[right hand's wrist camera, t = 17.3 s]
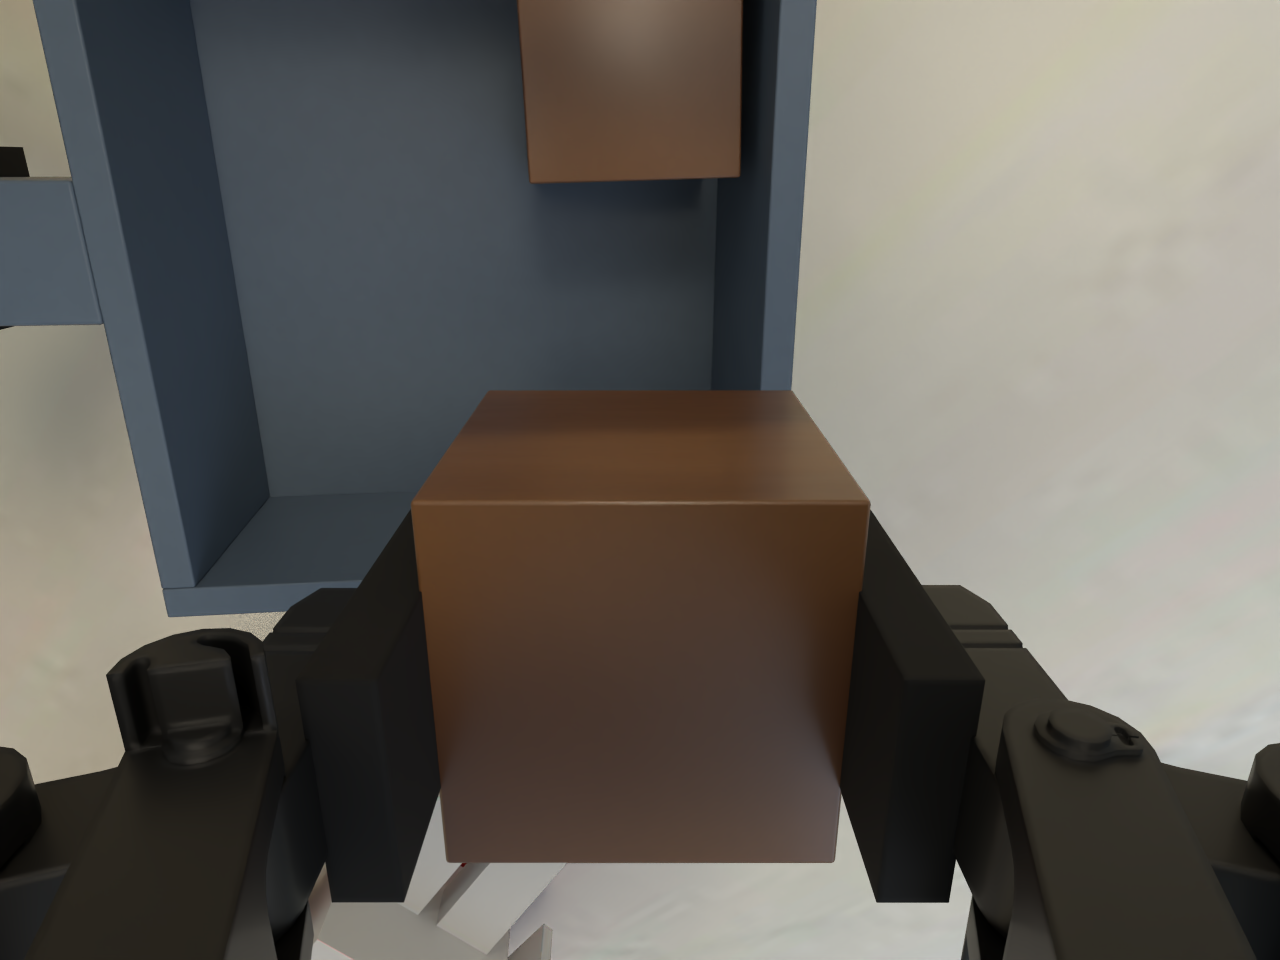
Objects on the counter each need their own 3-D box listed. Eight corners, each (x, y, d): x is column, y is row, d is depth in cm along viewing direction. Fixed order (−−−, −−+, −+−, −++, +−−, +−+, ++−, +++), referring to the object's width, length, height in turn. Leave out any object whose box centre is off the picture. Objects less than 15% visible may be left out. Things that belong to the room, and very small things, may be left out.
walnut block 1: (518, -19, 22) (512, -67, 18) (703, -20, 23) (744, -68, 18) (531, 180, 24) (529, 184, 20) (703, 175, 25) (741, 177, 20)
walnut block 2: (487, 389, 14) (409, 501, 9) (792, 389, 14) (872, 501, 9) (504, 655, 16) (445, 864, 11) (776, 655, 16) (835, 864, 11)
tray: (-288, -145, 20) (-678, -291, 14) (749, -109, 23) (831, -217, 16) (-75, 523, 27) (-276, 640, 20) (725, 493, 29) (778, 587, 23)
